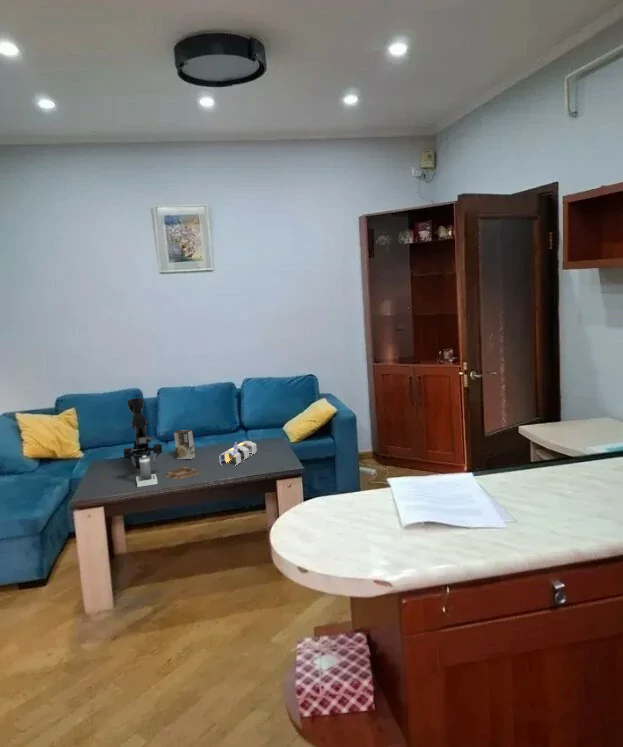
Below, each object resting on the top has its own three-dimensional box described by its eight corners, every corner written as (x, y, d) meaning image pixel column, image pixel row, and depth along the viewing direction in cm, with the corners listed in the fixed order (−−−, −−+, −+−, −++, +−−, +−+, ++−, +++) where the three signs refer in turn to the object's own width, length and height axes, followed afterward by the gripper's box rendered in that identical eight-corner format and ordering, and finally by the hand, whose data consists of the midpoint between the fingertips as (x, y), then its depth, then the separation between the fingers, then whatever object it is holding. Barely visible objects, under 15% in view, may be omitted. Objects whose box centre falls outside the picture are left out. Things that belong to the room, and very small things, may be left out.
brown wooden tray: (164, 477, 307) (163, 472, 307) (183, 470, 317) (183, 465, 317) (180, 481, 299) (179, 476, 298) (200, 473, 309) (199, 469, 308)
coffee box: (195, 456, 343) (193, 429, 341) (190, 460, 337) (188, 432, 335) (181, 456, 345) (178, 429, 343) (176, 459, 339) (173, 432, 337)
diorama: (237, 467, 318) (235, 443, 316) (220, 466, 321) (218, 443, 319) (256, 454, 341) (255, 432, 339) (240, 453, 344) (239, 431, 343)
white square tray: (136, 482, 301) (135, 476, 301) (155, 479, 304) (155, 473, 304) (137, 487, 292) (137, 482, 292) (157, 484, 295) (157, 478, 295)
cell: (139, 483, 298) (136, 456, 296) (148, 480, 302) (145, 454, 300) (145, 484, 295) (142, 457, 293) (154, 481, 298) (151, 455, 296)
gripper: (121, 433, 297) (124, 460, 289) (159, 428, 303) (164, 454, 295) (122, 444, 306) (125, 471, 297) (159, 439, 312) (163, 465, 303)
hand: (145, 465), depth 298 cm, fingers open, 9 cm apart
